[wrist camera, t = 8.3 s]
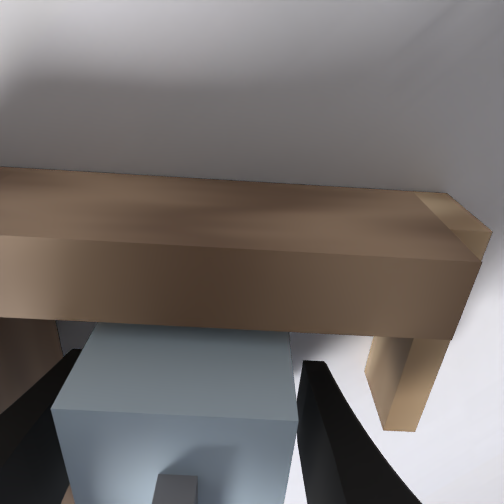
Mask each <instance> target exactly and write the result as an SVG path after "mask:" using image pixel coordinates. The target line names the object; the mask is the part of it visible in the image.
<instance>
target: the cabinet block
mask: <svg viewBox="0 0 504 504" xmlns="http://www.w3.org/2000/svg"><path fill="white" fill-rule="evenodd" d="M51 412H52V416H53V420H54V424H55V428H56V432H57V435H58V439H59V443H60V447H61V451H62V455H63V459H64V463H65V466H66V470H67V474H68V478H69V482H70V486H71V490H72V494H73V498H74V501H75V504H284V499H285V494H286V488H287V483H288V477H289V472H290V466H291V461H292V455H293V450H294V444H295V439H296V433H297V428H298V422H299V420H298V411H297V402H296V393H295V384H294V375H293V366H292V357H291V348H290V339H289V332H281V331H261V330H242V329H222V328H203V327H183V326H164V325H144V324H125V323H105V322H97V324H96V326H95V328H94V330H93V331H92V333H91V335H90V337H89V339H88V341H87V342H86V344H85V346H84V348H83V350H82V352H81V354H80V355H79V357H78V359H77V361H76V363H75V365H74V366H73V368H72V370H71V372H70V374H69V376H68V377H67V379H66V381H65V383H64V385H63V387H62V389H61V390H60V392H59V394H58V396H57V398H56V400H55V401H54V403H53V405H52V407H51Z"/></svg>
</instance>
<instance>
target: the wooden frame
mask: <svg viewBox="0 0 504 504" xmlns="http://www.w3.org/2000/svg"><path fill="white" fill-rule="evenodd" d="M491 235H492V231H491V230H490V229H489V228H488V227H486V226H485V225H484V224H483V223H482V222H480V221H479V220H478V219H477V218H476V217H475V216H473V215H472V214H471V213H470V212H469V211H467V210H466V209H465V208H464V207H463V206H461V205H460V204H459V203H458V202H457V201H456V200H454V199H453V198H452V197H451V196H450V195H448V194H447V193H433V192H416V191H400V190H383V189H366V188H349V187H333V186H316V185H299V184H282V183H266V182H249V181H232V180H215V179H199V178H182V177H165V176H148V175H132V174H115V173H98V172H81V171H65V170H48V169H31V168H14V167H0V414H1V413H2V412H4V411H5V410H6V409H7V408H8V407H9V406H11V405H12V404H13V403H14V402H15V401H16V400H17V399H18V398H20V397H21V396H22V395H23V394H24V393H25V392H26V391H27V390H28V389H30V388H31V387H32V386H33V385H34V384H35V383H36V382H37V381H38V380H39V379H41V378H42V377H43V376H44V375H45V374H46V373H47V372H48V371H49V370H50V369H51V368H52V367H53V366H54V365H56V364H57V363H58V362H59V361H60V360H61V359H62V358H63V353H62V349H61V344H60V340H59V335H58V331H57V326H56V322H55V320H67V321H86V322H105V323H125V324H144V325H164V326H183V327H203V328H222V329H242V330H261V331H281V332H300V333H320V334H339V335H359V336H374V337H373V341H372V344H371V348H370V352H369V356H368V359H367V363H366V367H365V371H364V372H365V375H366V378H367V381H368V384H369V387H370V390H371V393H372V397H373V400H374V403H375V406H376V409H377V412H378V415H379V418H380V421H381V425H382V428H383V430H385V431H407V432H415V430H416V428H417V425H418V423H419V420H420V417H421V415H422V412H423V410H424V407H425V405H426V402H427V399H428V397H429V394H430V392H431V389H432V387H433V384H434V381H435V379H436V376H437V374H438V371H439V369H440V366H441V363H442V361H443V358H444V356H445V353H446V351H447V348H448V345H449V343H450V340H452V338H453V336H454V333H455V331H456V328H457V325H458V323H459V320H460V318H461V315H462V313H463V310H464V307H465V305H466V302H467V300H468V297H469V295H470V292H471V290H472V287H473V284H474V282H475V279H476V277H477V274H478V272H479V269H480V266H481V264H482V262H481V260H482V258H483V255H484V253H485V250H486V247H487V245H488V242H489V240H490V237H491ZM61 504H75V501H74V498H73V494H72V490H71V486H70V484H69V486H68V489H67V491H66V493H65V495H64V498H63V500H62V502H61Z"/></svg>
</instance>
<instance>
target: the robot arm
mask: <svg viewBox="0 0 504 504" xmlns="http://www.w3.org/2000/svg"><path fill="white" fill-rule="evenodd" d="M82 350H83V349H72V350H71V351H70V352H69V353H67V354H66V355H65V356H64V357H63V358H62V359H61V360H60V361H59V362H58V363H57V364H56V365H54V366H53V367H52V368H51V369H50V370H49V371H48V372H47V373H46V374H45V375H44V376H43V377H42V378H41V379H39V380H38V381H37V382H36V383H35V384H34V385H33V386H32V387H31V388H30V389H28V390H27V391H26V392H25V393H24V394H23V395H22V396H21V397H20V398H18V399H17V400H16V401H15V402H14V403H13V404H12V405H11V406H9V407H8V408H7V409H6V410H5V411H4V412H2V413H1V414H0V504H61V502H62V500H63V498H64V495H65V493H66V491H67V489H68V486H69V484H70V482H69V478H68V474H67V470H66V466H65V463H64V459H63V455H62V451H61V447H60V443H59V439H58V435H57V432H56V428H55V424H54V420H53V416H52V412H51V407H52V405H53V403H54V401H55V400H56V398H57V396H58V394H59V392H60V390H61V389H62V387H63V385H64V383H65V381H66V379H67V377H68V376H69V374H70V372H71V370H72V368H73V366H74V365H75V363H76V361H77V359H78V357H79V355H80V354H81V352H82ZM297 411H298V420H299V422H298V428H297V442H298V449H299V455H300V461H301V467H302V474H303V480H304V486H305V492H306V498H307V504H422V503H421V502H420V501H419V500H418V498H417V497H416V496H415V495H414V494H413V493H412V492H411V490H410V489H409V488H408V487H407V486H406V484H405V483H404V482H403V481H402V479H401V478H400V477H399V476H398V475H397V473H396V472H395V471H394V470H393V468H392V467H391V466H390V464H389V463H388V462H387V460H386V459H385V458H384V456H383V455H382V454H381V452H380V451H379V449H378V448H377V447H376V445H375V444H374V442H373V441H372V440H371V438H370V437H369V435H368V434H367V432H366V431H365V429H364V428H363V426H362V425H361V423H360V422H359V420H358V419H357V417H356V415H355V414H354V412H353V411H352V409H351V408H350V406H349V404H348V403H347V401H346V399H345V397H344V396H343V394H342V392H341V390H340V389H339V387H338V385H337V383H336V381H335V380H334V378H333V376H332V374H331V372H330V370H329V368H328V366H327V364H326V363H325V362H324V361H308V360H303V365H302V371H301V377H300V384H299V390H298V396H297Z"/></svg>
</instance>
